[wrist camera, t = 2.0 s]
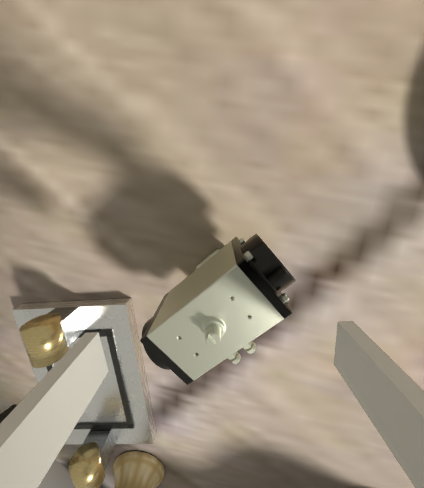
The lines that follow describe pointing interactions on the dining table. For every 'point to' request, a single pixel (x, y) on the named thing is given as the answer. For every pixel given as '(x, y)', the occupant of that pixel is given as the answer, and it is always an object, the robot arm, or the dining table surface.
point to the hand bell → (137, 470)
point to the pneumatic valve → (218, 309)
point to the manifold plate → (112, 387)
